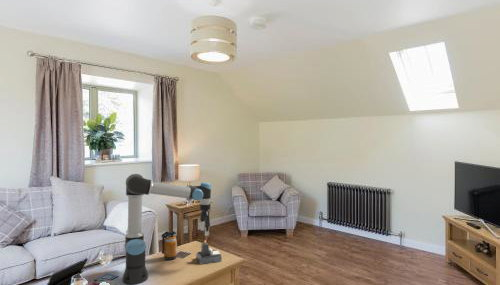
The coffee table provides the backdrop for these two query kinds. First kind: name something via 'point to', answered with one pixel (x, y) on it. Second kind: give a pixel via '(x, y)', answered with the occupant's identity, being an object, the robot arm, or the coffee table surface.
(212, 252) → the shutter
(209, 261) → the socket
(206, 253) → the plug
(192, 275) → the coffee table surface
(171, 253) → the canister
